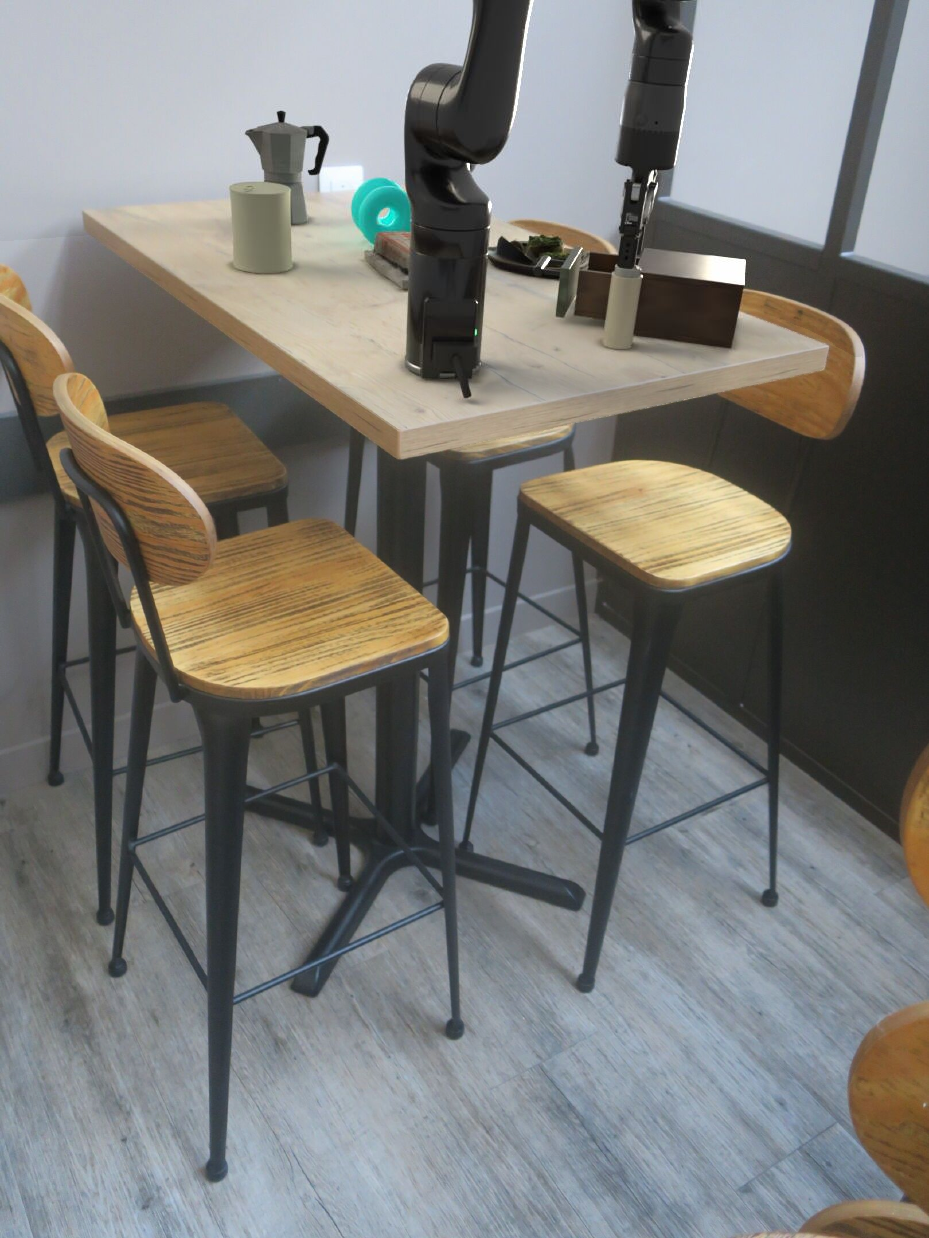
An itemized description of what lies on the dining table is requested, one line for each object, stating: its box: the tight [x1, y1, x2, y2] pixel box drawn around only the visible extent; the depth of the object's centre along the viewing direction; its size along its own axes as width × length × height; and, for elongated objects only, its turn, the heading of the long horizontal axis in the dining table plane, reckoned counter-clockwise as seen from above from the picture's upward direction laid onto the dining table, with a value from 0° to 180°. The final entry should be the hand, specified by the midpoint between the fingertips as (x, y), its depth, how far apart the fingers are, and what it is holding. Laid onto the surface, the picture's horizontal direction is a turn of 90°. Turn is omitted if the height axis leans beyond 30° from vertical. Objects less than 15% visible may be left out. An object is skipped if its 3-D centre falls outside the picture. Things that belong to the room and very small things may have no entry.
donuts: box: [350, 177, 411, 246], centre depth 178 cm, size 10×10×10 cm
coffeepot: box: [244, 110, 330, 226], centre depth 187 cm, size 15×9×18 cm, turn 118°
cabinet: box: [633, 247, 746, 349], centre depth 149 cm, size 15×15×9 cm
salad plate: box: [488, 233, 590, 279], centre depth 175 cm, size 19×18×5 cm
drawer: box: [533, 246, 641, 321], centre depth 151 cm, size 18×13×7 cm
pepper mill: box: [601, 264, 642, 350], centre depth 139 cm, size 4×4×12 cm
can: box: [228, 181, 294, 274], centre depth 160 cm, size 9×9×12 cm
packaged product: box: [363, 231, 410, 290], centre depth 164 cm, size 18×5×10 cm
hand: (628, 261), depth 135 cm, fingers open, 8 cm apart
